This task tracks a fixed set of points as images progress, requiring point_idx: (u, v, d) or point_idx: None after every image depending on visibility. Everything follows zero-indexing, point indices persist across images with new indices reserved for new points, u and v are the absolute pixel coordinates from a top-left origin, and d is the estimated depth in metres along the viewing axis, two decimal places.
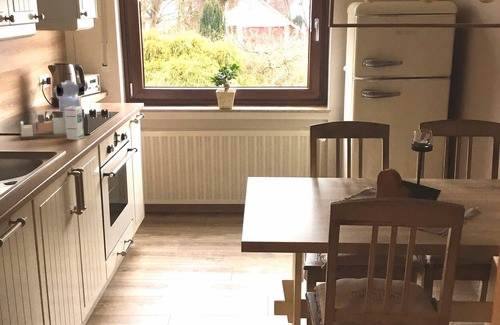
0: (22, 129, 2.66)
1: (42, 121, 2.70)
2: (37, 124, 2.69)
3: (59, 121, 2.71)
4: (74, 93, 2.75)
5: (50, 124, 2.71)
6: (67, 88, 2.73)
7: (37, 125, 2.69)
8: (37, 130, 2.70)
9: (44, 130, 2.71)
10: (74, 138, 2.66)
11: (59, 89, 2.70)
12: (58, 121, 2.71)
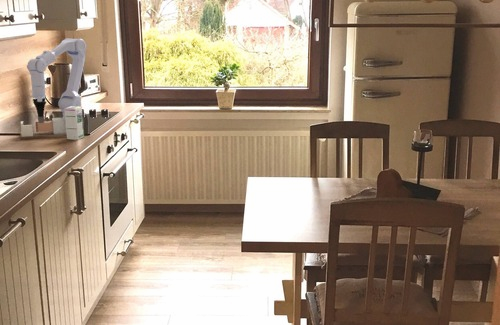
0: (22, 129, 2.66)
1: (42, 121, 2.70)
2: (37, 124, 2.69)
3: (59, 121, 2.71)
4: None
5: (50, 124, 2.71)
6: None
7: (37, 125, 2.69)
8: (37, 130, 2.70)
9: (44, 130, 2.71)
10: (74, 138, 2.66)
11: None
12: (58, 121, 2.71)
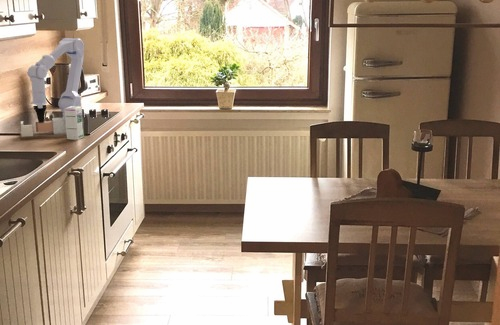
0: (22, 129, 2.66)
1: None
2: (37, 124, 2.69)
3: (59, 121, 2.71)
4: (44, 103, 2.68)
5: (50, 124, 2.71)
6: None
7: (37, 125, 2.69)
8: (37, 130, 2.70)
9: (44, 130, 2.71)
10: (74, 138, 2.66)
11: None
12: (58, 121, 2.71)
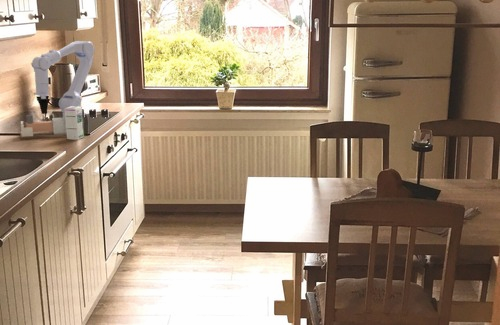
0: (22, 129, 2.66)
1: (31, 122, 2.69)
2: (26, 125, 2.67)
3: (59, 121, 2.71)
4: (47, 94, 2.71)
5: (39, 125, 2.69)
6: None
7: (26, 126, 2.67)
8: None
9: (33, 131, 2.69)
10: (74, 138, 2.66)
11: None
12: (58, 121, 2.71)
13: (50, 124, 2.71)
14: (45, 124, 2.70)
